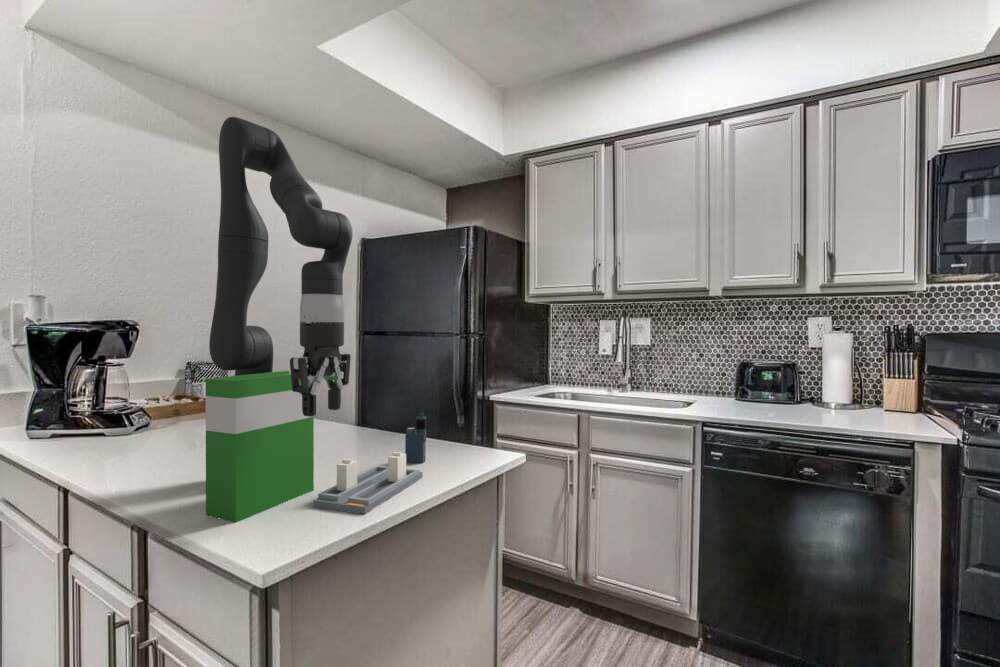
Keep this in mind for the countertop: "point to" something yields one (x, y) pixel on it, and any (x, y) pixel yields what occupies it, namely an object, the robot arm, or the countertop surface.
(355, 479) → the tab
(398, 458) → the tab
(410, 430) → the vaping device
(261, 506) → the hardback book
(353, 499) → the switch board
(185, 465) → the countertop surface
